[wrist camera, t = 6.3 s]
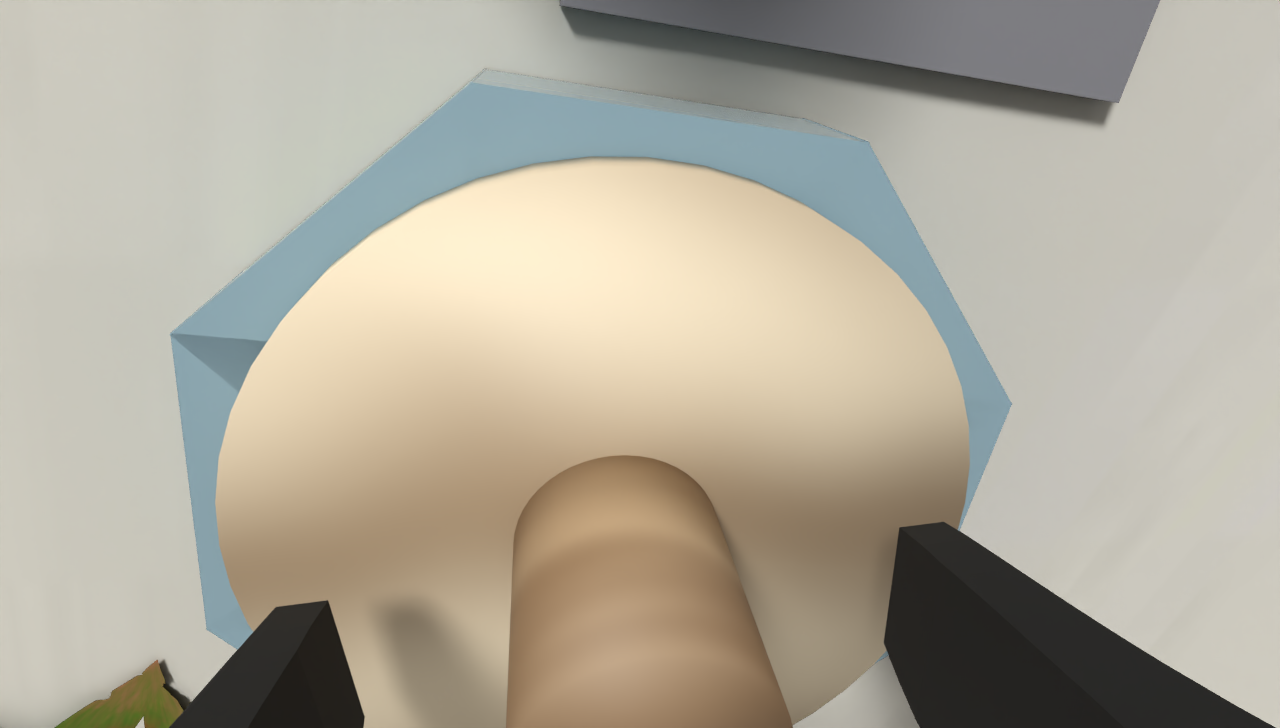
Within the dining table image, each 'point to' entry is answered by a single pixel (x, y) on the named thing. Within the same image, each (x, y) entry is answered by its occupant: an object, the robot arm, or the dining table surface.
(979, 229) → the dining table surface
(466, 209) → the lid
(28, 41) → the dining table surface
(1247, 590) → the dining table surface
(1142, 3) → the mat
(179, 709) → the lily flower
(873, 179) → the bowl
